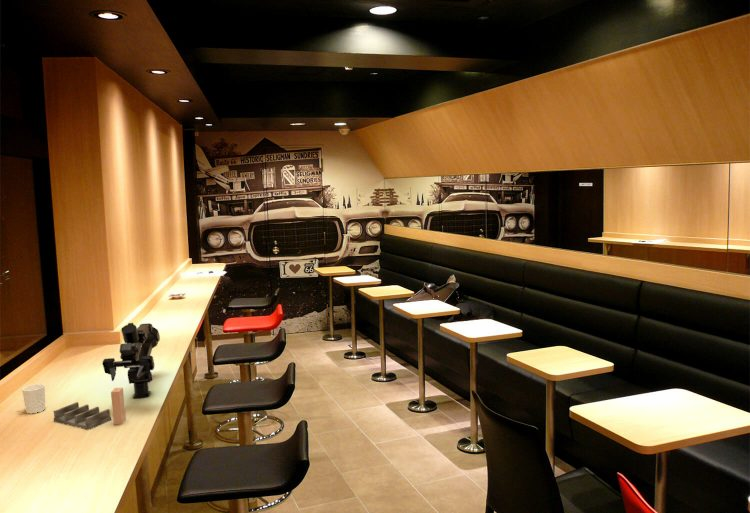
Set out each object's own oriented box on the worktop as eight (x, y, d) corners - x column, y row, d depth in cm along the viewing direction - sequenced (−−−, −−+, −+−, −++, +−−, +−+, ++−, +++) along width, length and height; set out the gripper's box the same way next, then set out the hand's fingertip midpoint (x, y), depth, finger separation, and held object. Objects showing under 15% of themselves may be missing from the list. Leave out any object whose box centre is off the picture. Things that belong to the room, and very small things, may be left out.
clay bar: (117, 420, 235) (114, 388, 233) (125, 419, 235) (122, 387, 233) (113, 425, 230) (110, 392, 228) (122, 424, 230) (119, 391, 229)
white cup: (22, 415, 242) (19, 391, 241) (27, 408, 249) (25, 385, 248) (44, 413, 244) (41, 389, 243) (49, 406, 252) (46, 383, 250)
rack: (76, 411, 244) (75, 402, 244) (111, 419, 235) (110, 409, 235) (53, 421, 235) (52, 410, 235) (88, 429, 226) (87, 419, 226)
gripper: (104, 338, 242) (95, 365, 230) (152, 335, 245) (146, 361, 232) (109, 359, 248) (101, 386, 236) (157, 356, 251) (151, 383, 238)
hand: (124, 379), depth 235 cm, fingers open, 9 cm apart
